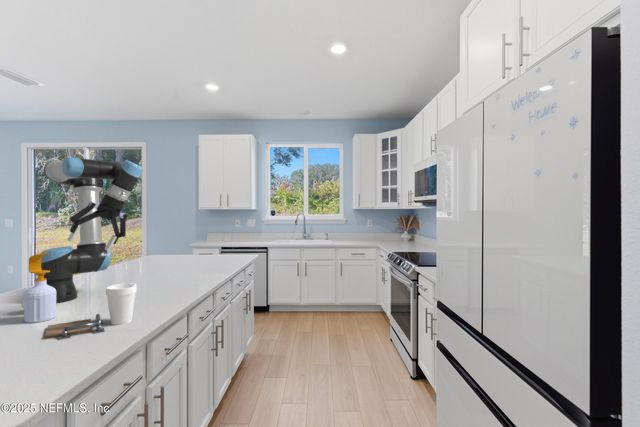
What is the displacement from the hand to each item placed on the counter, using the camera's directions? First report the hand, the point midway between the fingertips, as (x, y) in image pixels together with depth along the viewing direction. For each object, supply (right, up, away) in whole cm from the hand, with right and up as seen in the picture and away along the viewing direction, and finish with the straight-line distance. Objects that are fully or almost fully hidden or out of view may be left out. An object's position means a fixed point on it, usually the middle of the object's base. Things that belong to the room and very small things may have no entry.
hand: (88, 246), depth 126 cm
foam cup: (+18, -27, -9) cm, 34 cm away
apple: (-23, -27, +1) cm, 35 cm away
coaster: (+5, -27, -17) cm, 32 cm away
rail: (+10, -27, -17) cm, 33 cm away
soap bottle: (-13, -27, -7) cm, 30 cm away
